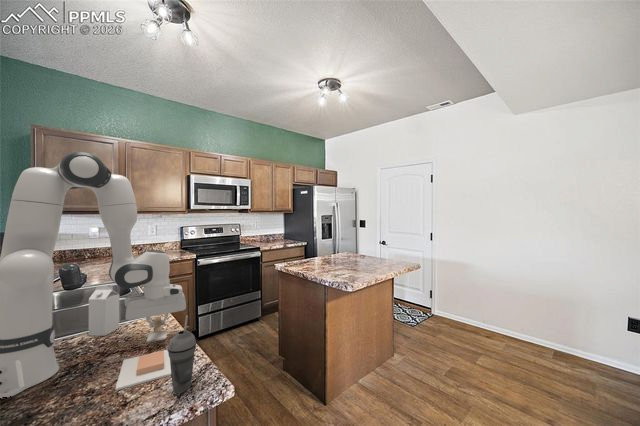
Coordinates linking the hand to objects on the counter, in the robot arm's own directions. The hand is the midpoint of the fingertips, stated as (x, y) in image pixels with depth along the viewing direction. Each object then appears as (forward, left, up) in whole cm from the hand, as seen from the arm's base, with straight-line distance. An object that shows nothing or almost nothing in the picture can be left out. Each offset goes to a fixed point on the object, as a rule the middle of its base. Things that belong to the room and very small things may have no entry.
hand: (157, 325), depth 102 cm
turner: (0, -2, -2) cm, 2 cm away
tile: (-1, -22, -4) cm, 22 cm away
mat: (-2, -22, -5) cm, 22 cm away
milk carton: (-19, +19, -5) cm, 28 cm away
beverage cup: (+7, -38, -5) cm, 39 cm away
